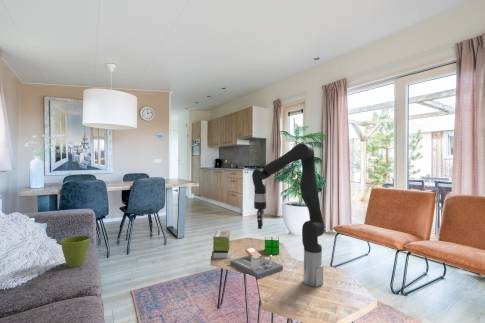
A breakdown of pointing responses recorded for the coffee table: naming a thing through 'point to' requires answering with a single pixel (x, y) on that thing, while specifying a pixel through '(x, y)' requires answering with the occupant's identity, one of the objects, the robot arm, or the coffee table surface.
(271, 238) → the puzzle cube
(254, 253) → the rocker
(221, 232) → the tea box
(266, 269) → the control board
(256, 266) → the slider knob
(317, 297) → the coffee table surface
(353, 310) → the coffee table surface
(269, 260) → the toggle lever
